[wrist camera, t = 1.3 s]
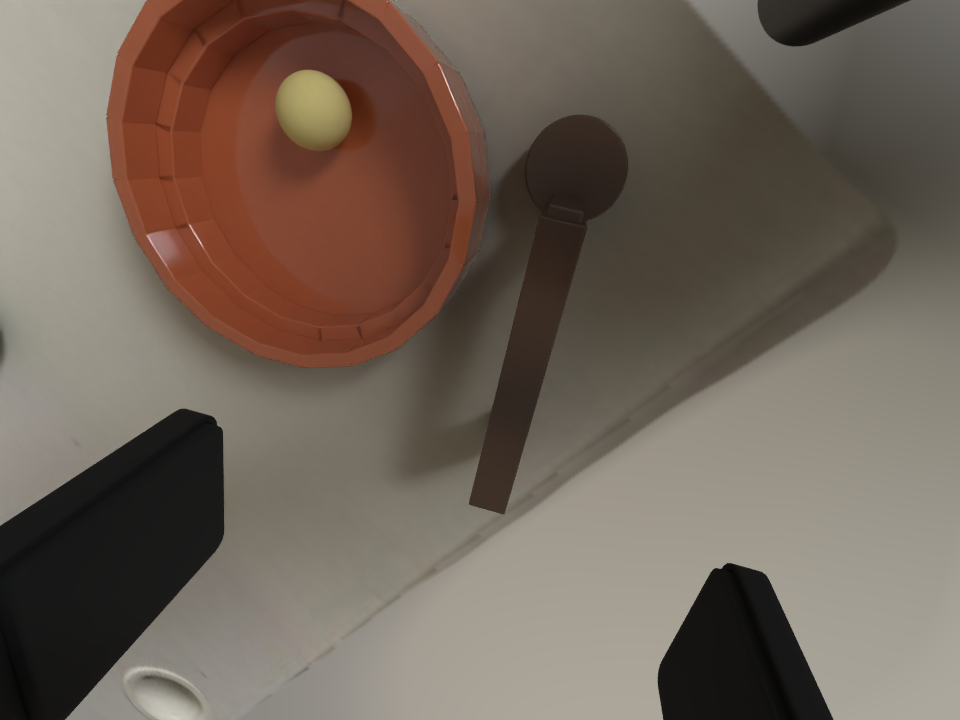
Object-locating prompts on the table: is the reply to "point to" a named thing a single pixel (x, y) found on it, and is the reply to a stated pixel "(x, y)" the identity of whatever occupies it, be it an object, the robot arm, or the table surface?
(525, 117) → the table surface
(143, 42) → the bowl
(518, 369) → the ladle
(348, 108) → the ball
